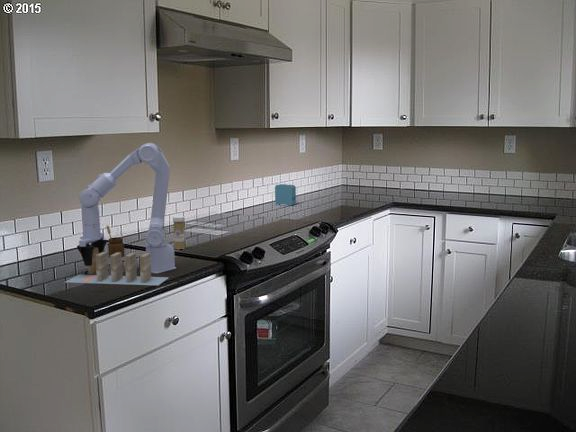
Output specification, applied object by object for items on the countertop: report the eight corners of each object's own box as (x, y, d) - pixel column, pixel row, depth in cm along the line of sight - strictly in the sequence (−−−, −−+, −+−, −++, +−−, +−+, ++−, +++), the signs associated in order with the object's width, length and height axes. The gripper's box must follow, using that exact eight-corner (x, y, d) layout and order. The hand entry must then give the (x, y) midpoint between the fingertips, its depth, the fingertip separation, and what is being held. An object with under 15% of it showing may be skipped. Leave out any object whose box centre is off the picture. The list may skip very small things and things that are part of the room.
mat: (169, 278, 211) (169, 277, 211) (158, 286, 201) (158, 285, 201) (79, 275, 216) (78, 274, 216) (64, 283, 206) (64, 282, 206)
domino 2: (108, 277, 212) (107, 252, 210) (101, 281, 207) (100, 255, 205) (103, 277, 212) (102, 252, 211) (97, 281, 207) (95, 255, 206)
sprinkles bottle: (173, 250, 255) (172, 217, 253) (174, 248, 259) (173, 215, 257) (185, 250, 256) (184, 216, 253) (185, 247, 260) (184, 215, 258)
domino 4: (136, 278, 210) (135, 252, 209) (130, 282, 205) (129, 256, 204) (132, 278, 210) (131, 252, 209) (126, 282, 205) (124, 256, 204)
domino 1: (99, 271, 222) (98, 247, 220) (93, 275, 217) (91, 250, 216) (95, 271, 222) (93, 247, 221) (88, 275, 217) (87, 250, 216)
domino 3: (122, 277, 211) (121, 252, 210) (116, 281, 206) (114, 255, 205) (118, 277, 211) (116, 252, 210) (111, 281, 206) (110, 255, 205)
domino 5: (151, 278, 209) (150, 253, 208) (145, 282, 204) (144, 256, 203) (146, 278, 210) (145, 253, 208) (140, 282, 205) (139, 256, 203)
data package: (296, 205, 379) (295, 185, 377) (292, 206, 375) (291, 185, 373) (279, 203, 385) (278, 184, 383) (275, 204, 381) (274, 184, 380)
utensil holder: (120, 258, 242) (118, 227, 240) (105, 257, 243) (103, 226, 242) (127, 254, 248) (125, 224, 246) (112, 254, 249) (110, 224, 247)
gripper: (90, 220, 224) (92, 258, 227) (69, 227, 210) (72, 267, 212) (108, 220, 223) (111, 258, 225) (89, 227, 209) (92, 268, 211)
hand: (93, 263), depth 219 cm, fingers open, 7 cm apart
